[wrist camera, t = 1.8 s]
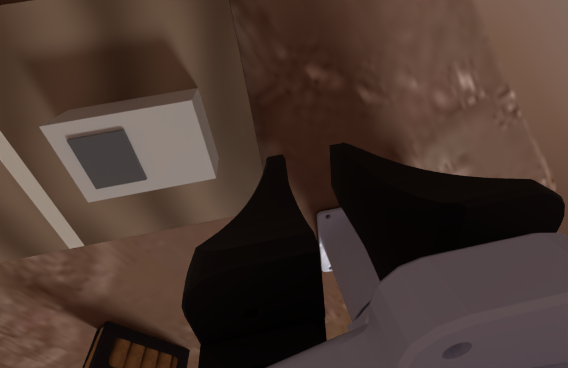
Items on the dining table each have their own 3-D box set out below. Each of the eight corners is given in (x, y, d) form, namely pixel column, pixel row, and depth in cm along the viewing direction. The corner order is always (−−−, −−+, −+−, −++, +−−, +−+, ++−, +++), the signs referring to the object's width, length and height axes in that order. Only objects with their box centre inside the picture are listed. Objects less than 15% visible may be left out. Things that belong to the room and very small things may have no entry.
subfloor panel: (224, -26, 15) (223, -28, 14) (269, 201, 24) (270, 208, 23) (-200, 37, 14) (-228, 38, 13) (9, 253, 23) (0, 262, 22)
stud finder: (197, 87, 17) (191, 101, 15) (218, 157, 20) (215, 179, 17) (68, 109, 17) (36, 127, 14) (107, 178, 20) (86, 204, 17)
